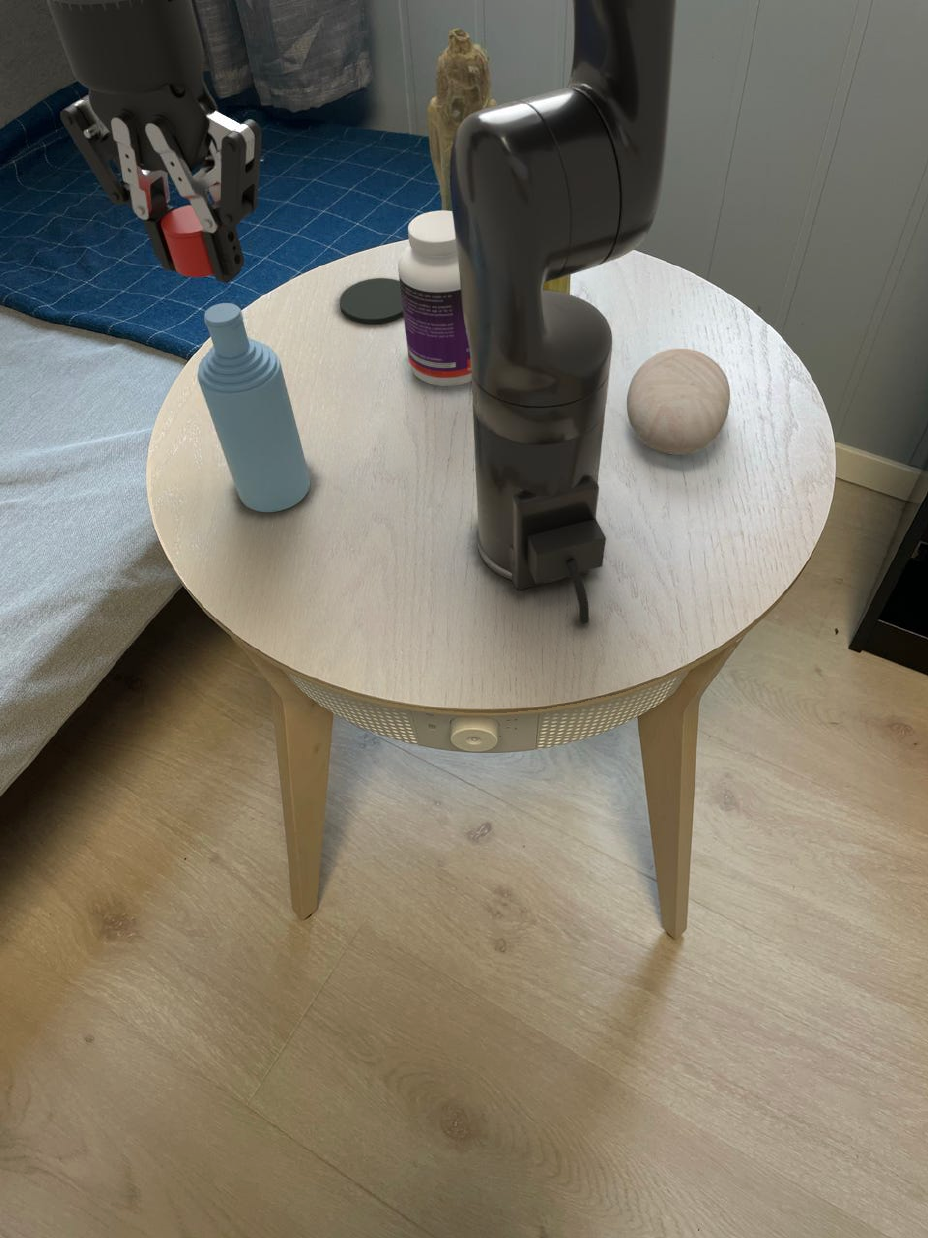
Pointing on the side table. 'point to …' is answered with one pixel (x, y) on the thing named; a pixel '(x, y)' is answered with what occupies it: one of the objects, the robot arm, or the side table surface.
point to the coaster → (373, 301)
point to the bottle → (252, 414)
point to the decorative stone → (678, 401)
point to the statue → (456, 100)
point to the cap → (186, 242)
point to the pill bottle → (434, 302)
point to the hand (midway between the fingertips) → (203, 269)
